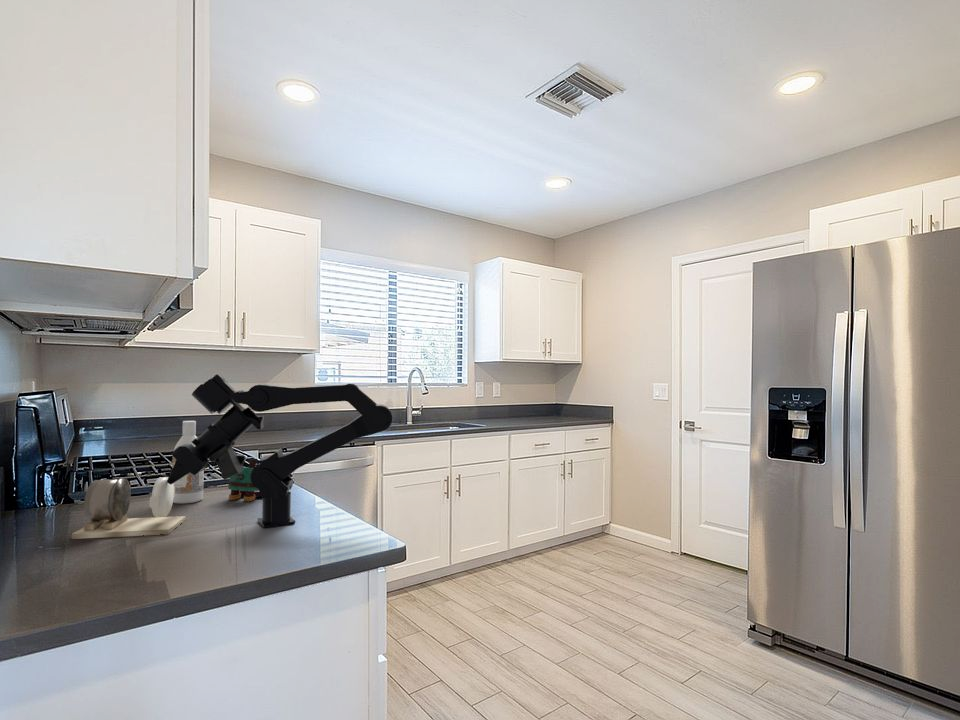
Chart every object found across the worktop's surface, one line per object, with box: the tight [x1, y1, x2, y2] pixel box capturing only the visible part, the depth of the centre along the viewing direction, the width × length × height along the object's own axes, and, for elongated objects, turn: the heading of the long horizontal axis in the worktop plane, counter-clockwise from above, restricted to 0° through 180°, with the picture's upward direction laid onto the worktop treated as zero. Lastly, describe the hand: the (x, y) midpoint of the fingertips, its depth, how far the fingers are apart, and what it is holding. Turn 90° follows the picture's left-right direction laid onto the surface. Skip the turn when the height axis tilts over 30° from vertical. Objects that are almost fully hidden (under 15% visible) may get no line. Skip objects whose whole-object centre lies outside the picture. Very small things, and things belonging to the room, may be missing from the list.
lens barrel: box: [83, 477, 132, 522], centre depth 108 cm, size 5×8×8 cm, turn 12°
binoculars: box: [228, 458, 261, 502], centre depth 138 cm, size 9×11×10 cm
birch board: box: [71, 514, 186, 540], centre depth 109 cm, size 17×10×2 cm, turn 102°
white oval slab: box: [148, 476, 175, 517], centre depth 110 cm, size 2×10×8 cm, turn 12°
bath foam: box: [171, 420, 205, 505], centre depth 134 cm, size 7×7×20 cm
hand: (169, 482), depth 111 cm, fingers closed, pressing on white oval slab
